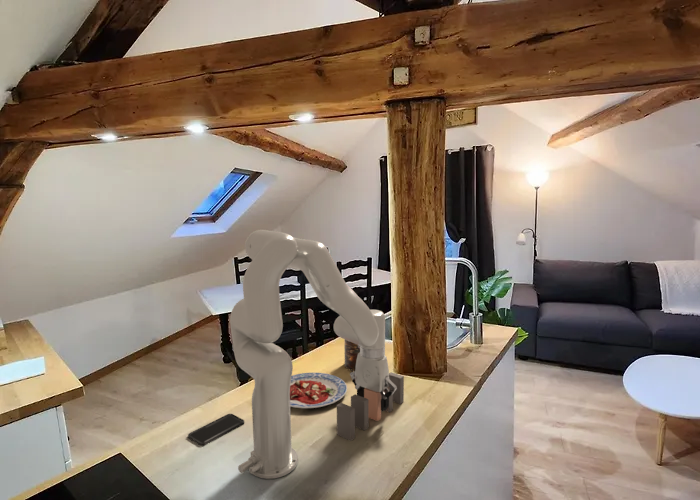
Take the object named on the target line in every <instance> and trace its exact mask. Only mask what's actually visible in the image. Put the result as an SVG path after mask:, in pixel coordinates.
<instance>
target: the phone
mask: <svg viewBox="0 0 700 500" xmlns="http://www.w3.org/2000/svg"><path fill="white" fill-rule="evenodd" d="M244 425H245V419H243V418H241V417H239V416H237V415H235V414H234V413H228V414H225V415H223V416H221V417H219V418H217V419H214V420H213V421H211V422H209V423H207V424H205V425H203V426H201V427H200V428H199V427H198V428H197V429H195V430H193V431H191V432H189V433H188V434H187V437H188V439H189V440H191V441H192V442H194V443H195V444H197V445H198V446H200V447H205V446H207V445H209V444H211V443H213V442H214V441H216V440H218V439H219V438H221V437H223V436H225V435H228V434H229V433H231V432H232V431H234V430H236V429H238V428H241V427H242V426H244ZM210 442H211V443H210ZM208 443H209V444H208Z"/></svg>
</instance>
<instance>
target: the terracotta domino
mask: <svg viewBox="0 0 700 500" xmlns="http://www.w3.org/2000/svg"><path fill="white" fill-rule="evenodd" d="M364 398H366V399H368V418H369V419H371V420H373V421H376V422H379V421H380V420H381V419H382V411H381V394H380V392H375V391H372V390H369V389H367V388H364Z"/></svg>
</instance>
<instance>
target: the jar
mask: <svg viewBox="0 0 700 500" xmlns="http://www.w3.org/2000/svg"><path fill="white" fill-rule="evenodd" d="M358 353H360V348H358V345H357V344H355V343H353V342H350V341H348V340H345V339H344V368H345V369H347V371H350V372H353V371H355V369H356V361H357V356H358Z"/></svg>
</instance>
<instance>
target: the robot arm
mask: <svg viewBox="0 0 700 500" xmlns="http://www.w3.org/2000/svg"><path fill="white" fill-rule="evenodd" d="M245 239H246V240H245V242H244V249H245V250H244V251H245V253H246V254H247V255H246V256H248V257H249V259H251V261H250V263H249V265H248V267H247V269H246V271H245V273H244V276H243V281H242V293H243V298H242V299H240V300H239V301H237V302H236V303H235V305H234V306H233V307H232V310H231V312H230V317H229V321H230V322H229V324H230V332H231V340H232V341H231V342H232V349H233V354H234V358H235V362H236V364H237V365H238V367H239V368H240V369H241V370H242V371H244V373H246V374H247V375H249V376H250V377H252V379H253V381H254V387H253V390H252V395H251V413H252V414H251V415H252V434H253V435H252V437H253V450H251V451H250V457H249V458H248V459H247V460H246V461H243V463H241V464H239V465H238V466H237V469H238V472H239V473H240V474H243V473H245V472H246V471H248V470H249V474H251V475H254V476H255V477H257V478H260V479H265V480H266V479H267V480H271V479H276V478H277V479H278V478H282V477H284V476H286V475H288V474H289V473H291V472H292V471H294V470H295V468H297V465H298V462H299V455H298V453H297V451H296V450H295V449H294V448H293V447H292V420H291V417H292V416H291V407H290V383H291V377H292V375H293V371H294V370H293V360H292V359H291V356H290V354H288V352H287V351H286V350H284V349H283V348H282V347H280V346H279V345H276V344H275V343H274V342H276V341H277V340H278V339H279V338H280V337H281V334H282V332H283V327H284V324H283V314H282V306H281V298H280V281H281V278H282V276H283V274H284V273H285V271H286V270H287V269H288V268H289V269H295V270H299V271H302V273H303V275H304V276H305V277H306V279H307V281H308V283H309V284H310V286H311V288H312V289H313V292H314V293H315V295H316V297H317V298H318V299H319V300H320V301H319V302H322V304H323V305H325V306H326V307H327V308H329V309H331V310H332V311H333V312H335V313H337V314H338V315H339V316H338V317H337V318H335V320H334V323H333V331H334V333H335V334H336V335H337V336H338V338H341V339H343V340H344V341H345V340H348V341H350V342H353V343H355V344H357V345H358V348H360V353H358V356H357V361H356V369H355V371H350V373H349V375H350V378H351V380H352V383H353V385H354V388H355V390H356V395H358V396H361V397H364V388H367V389H369V390H372V391H375V392H380V394H381V396H382V399H381V412H386V411H385V410H386V409H387V408H388V407H389V397H390V396H391V395H392V394H393V393H394V392H395V390H396V389H397V386H396V385H395V384H394V383H393V382H392V381H391V380H390V379H389V373H390V371H389V370H390V369H389V363H388V358H387V356H386V316H385V314H384V312H383V311H382V310H379V309H370V308H369V306H368V305H367V304H366V303H365V302H364V301H363V299H362V298H361V297H359V296H358V294H357V293H356V292H355V291H354V290H353V289H352V288H351V287H350V286H349V285H348V284H347V283H346V281H345V279H344V278H343V275H342V274H341V272H340V270H339V268H338V266H337V264H336V262H335V261H334V259H333V257H332V255H331V253H330V251H329V249H328V248H327V247H326V245H325V244H324V243H322V242H320V241H317V240H313V239H304V238H298V237H293V236H292V235H291V234H289V233H286V232H282V231H275V230H267V229H257V230H254V231H253V232H251V233H249V235H248V236H247V238H245ZM388 386H389V387H390V390H388V388H387V387H388ZM383 390H384V391H385V393H386V394H385V393H384V391H383Z"/></svg>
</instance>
